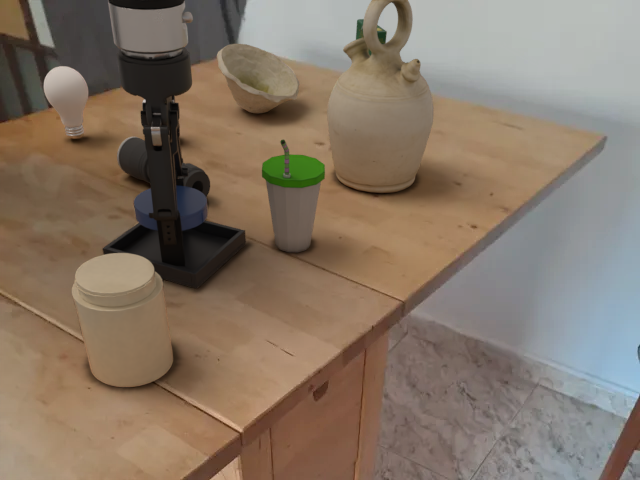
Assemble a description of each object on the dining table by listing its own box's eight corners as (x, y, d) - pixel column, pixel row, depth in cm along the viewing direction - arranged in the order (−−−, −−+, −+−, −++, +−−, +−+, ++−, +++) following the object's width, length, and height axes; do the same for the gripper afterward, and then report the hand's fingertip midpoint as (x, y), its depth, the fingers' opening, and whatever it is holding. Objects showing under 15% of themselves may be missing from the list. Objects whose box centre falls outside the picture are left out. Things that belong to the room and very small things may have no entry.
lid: (221, 208, 86) (220, 194, 84) (183, 238, 80) (182, 224, 78) (162, 193, 88) (160, 179, 87) (121, 221, 82) (118, 206, 81)
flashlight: (215, 200, 99) (212, 163, 95) (186, 212, 96) (182, 174, 92) (149, 168, 106) (144, 132, 102) (120, 178, 103) (114, 141, 99)
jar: (72, 372, 69) (48, 282, 62) (122, 329, 75) (105, 242, 68) (142, 396, 67) (125, 305, 60) (188, 350, 73) (178, 262, 66)
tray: (105, 262, 85) (102, 248, 84) (160, 222, 93) (158, 208, 92) (196, 288, 81) (195, 274, 80) (246, 244, 90) (245, 230, 88)
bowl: (267, 131, 119) (266, 69, 112) (204, 114, 124) (199, 53, 117) (314, 108, 128) (315, 48, 121) (253, 92, 133) (251, 34, 126)
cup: (295, 224, 94) (296, 110, 84) (334, 246, 90) (341, 129, 80) (250, 242, 90) (246, 124, 80) (290, 265, 86) (290, 145, 76)
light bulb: (90, 129, 117) (76, 58, 109) (102, 142, 113) (89, 70, 105) (50, 135, 114) (33, 63, 106) (61, 149, 110) (45, 75, 102)
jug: (311, 163, 110) (315, -21, 92) (399, 153, 114) (419, -25, 97) (346, 204, 99) (358, 6, 82) (441, 191, 103) (472, 1, 86)
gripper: (185, 81, 64) (204, 290, 79) (192, 22, 79) (207, 206, 95) (102, 81, 63) (138, 292, 79) (126, 21, 79) (152, 207, 94)
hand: (175, 245), depth 87 cm, fingers closed on lid, 9 cm apart
